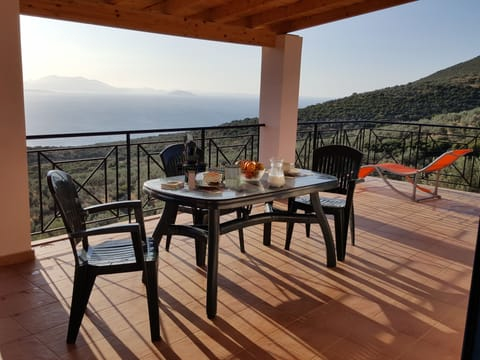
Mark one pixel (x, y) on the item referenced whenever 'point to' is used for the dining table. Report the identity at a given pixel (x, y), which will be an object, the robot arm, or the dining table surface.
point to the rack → (172, 185)
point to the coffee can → (232, 175)
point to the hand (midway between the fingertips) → (191, 177)
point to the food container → (218, 171)
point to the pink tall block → (191, 180)
